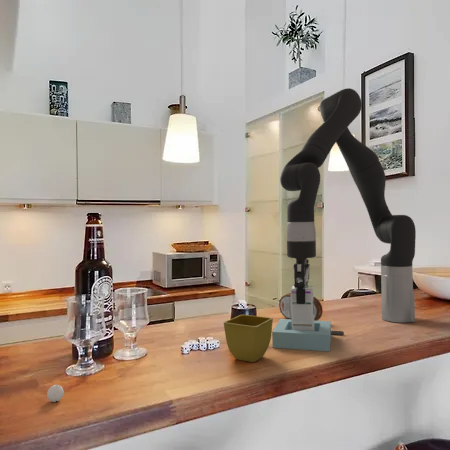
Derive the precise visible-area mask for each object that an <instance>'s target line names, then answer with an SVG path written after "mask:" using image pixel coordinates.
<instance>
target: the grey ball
mask: <svg viewBox="0 0 450 450" xmlns="http://www.w3.org/2000/svg"><path fill="white" fill-rule="evenodd" d="M64 394H65V391H64V389H63V387H62V386H61V385H60V384H54V385H51V386H50V387H49V388H48V389H47V393H46V396H47V399H48V401H50V402H52V403H56V401H57V402H60V400H62V398H63V396H64Z"/></svg>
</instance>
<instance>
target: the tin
mask: <svg viewBox="0 0 450 450" xmlns="http://www.w3.org/2000/svg"><path fill="white" fill-rule="evenodd" d="M313 300H314V321H320V319H321V318H322V315H323V312H324V311H323V306H322V303H321V302H320V300H319V299H318V298H316V297H315V296H313ZM278 301H279V302H278V305H279V306H278V307H279V311H280V313H281V315H282V316H283V317H284V318H285V319H291V292H288V293H286V294H284V295H282V296H281V297H280V299H279V300H278Z"/></svg>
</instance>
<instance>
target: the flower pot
mask: <svg viewBox="0 0 450 450" xmlns="http://www.w3.org/2000/svg"><path fill="white" fill-rule="evenodd" d="M273 321H274V318H272V317H268V316H260V315H258V316H257V315H251V314H250V315H249V314H240V315H237V316H235V317H233V318H231V319H227V320H226V321H224V322H223V326H224V327H223V328H224V334H225V341H226V346H227V347H228V350H229V352H230V354H231V355H232V357H233V358H234V359H235V360H238V361H244V362H250V363H255V362H257V361H258V360H260V359H261V358H262V357H264V355H265V354H266V352H267V350H268V349H269V345H270V343H271V340H272V331H273Z"/></svg>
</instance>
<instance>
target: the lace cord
mask: <svg viewBox="0 0 450 450" xmlns="http://www.w3.org/2000/svg"><path fill="white" fill-rule="evenodd" d="M331 335H338V336H341V335H342V336H344V335H345V332H344V331H342V330H331Z"/></svg>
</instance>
